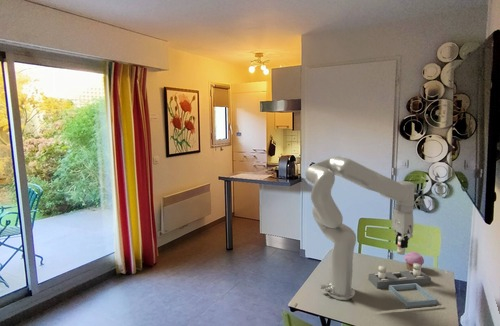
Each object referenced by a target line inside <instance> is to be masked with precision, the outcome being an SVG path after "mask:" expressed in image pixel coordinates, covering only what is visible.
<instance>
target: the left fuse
mask: <svg viewBox="0 0 500 326" xmlns="http://www.w3.org/2000/svg"><path fill="white" fill-rule="evenodd" d="M377 271H378V272H377V273H378V278H379V279H380V280H381V279H385V278H386V273H387V267H386V266H385V265H378V270H377Z"/></svg>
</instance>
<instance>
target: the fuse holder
mask: <svg viewBox="0 0 500 326" xmlns="http://www.w3.org/2000/svg"><path fill="white" fill-rule="evenodd" d="M367 276H368V280H367V281H369V282H370V283H371V285H373V286H374V287H375V288H376V289H385V288H388V289H389V285H400V284H412V283H417V284H418V285H419V286H423V285H431V281H432V280H431V279H432V278H431V277H430V276H429V275H427V274H426V273H424V272H423V271H422V270H421V274H420V276H417V277H415V276H413V271H411V270H402V271H390V272H387V271H386V278H385V279H381V280H380V279H379V278H378V272H377V273H368V275H367Z"/></svg>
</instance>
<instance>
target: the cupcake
mask: <svg viewBox="0 0 500 326" xmlns="http://www.w3.org/2000/svg"><path fill="white" fill-rule="evenodd" d="M404 261H405V263H406V270H408V271H413V264H414V263H418V264H421V267H422V265H424V263H425V259H424V257H423V256H422V255H421V254H420V253H418V252H415V251H410V252H408V253H407V254H405V256H404Z"/></svg>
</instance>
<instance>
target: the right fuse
mask: <svg viewBox="0 0 500 326" xmlns="http://www.w3.org/2000/svg"><path fill="white" fill-rule="evenodd" d="M421 271H422V266H421V264H418V263H414V264H413V276H415V277H417V276H420V274H421Z"/></svg>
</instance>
